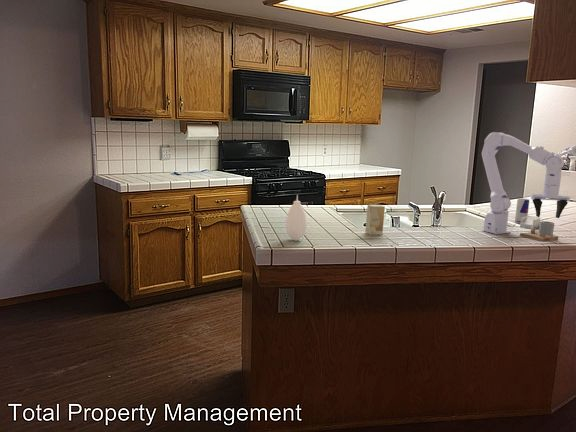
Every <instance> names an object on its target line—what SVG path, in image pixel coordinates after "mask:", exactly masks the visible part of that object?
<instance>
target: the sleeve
mask: <svg viewBox="0 0 576 432" xmlns="http://www.w3.org/2000/svg"><path fill="white" fill-rule="evenodd" d="M554 228H555V222H552V221H546V220H542V221H541V220H540V225H539V227H538V232H539V233H538V234H537V235H538V236H540V237H545V238H551V237H553V236H555V235H554V230H555V229H554Z"/></svg>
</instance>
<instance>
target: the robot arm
mask: <svg viewBox="0 0 576 432" xmlns="http://www.w3.org/2000/svg"><path fill="white" fill-rule="evenodd" d="M483 143H484V144H483V147H482V150H481V158H482V162H483V166H484V169H485V173H486V176H487V182H488V185H489V189H490V196H489V197H490V205H489V206H490V209H491V210H490V212H489V213H487V214H486V215H485V217H484V223H483V229H481V230H482V231H483V232H487V233H491V234H493V235H494V234H495V235H499V234H501V235H502V234H509V233H510V234H511V232H512V231H510V230H507V229H508V220H509V209H510V207H511V206H512V202H511V199H510V198H509V197H508V195H507V192H506V191H505V190H504V186H503V183H502V179H501V175H500V170H499V167H498V163H497V159H496V154H497V153H498V151H499V150H500V149H502V148H503V147H504V146H507V147H509V146H510V147H513V148H514V149H517V150H519V151H521V152H524V153H526V154H528V157H529V159H530V160H532V161H535V162H536V163H538V164H540V165H542V166H545V168H546V171H545V176H544V182H543V192H542V194H540V193H539V194H537V193H536V194H534V193H532V194H530V200H531V201H532V203H533V205H534V209H535V215H536V216H535V217H539V218H541V208H542V205H543V201H556V212H555V218H557V219H560V218H561V215H562V213H563V210H564V209H565V208H566V207H567V205H568V203H569V202H570V201H571V196H569V195H559V194H560V187H561V179H562V169H563V166H564V165H565V160H564V158H563V157H562V156H560V155H558V154H556V153H555V152H553V151H552V152H551V151H549V150H547V149H545V147H544V146H542V145H541V146H538V145H537V146H531V145H529V144H528V143H525V142H523V141H522V140H520V139H518V138H516V137H515V136H512V135H510V134H505V132H500V131H499V132H497V131H493V132H490V133H489V134H488V135H487V136H486V138H484V142H483ZM555 154H556V155H555Z"/></svg>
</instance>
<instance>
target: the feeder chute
mask: <svg viewBox="0 0 576 432" xmlns="http://www.w3.org/2000/svg"><path fill="white" fill-rule="evenodd" d="M540 221H541V217H537V216H532V215H528V216H526V217H523V218H521V224H520V226H519V227H520V228H523V227H524V229H529V228H530V230H531V227H532V226H535V227H536V228H535V229H539V225H540Z"/></svg>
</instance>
